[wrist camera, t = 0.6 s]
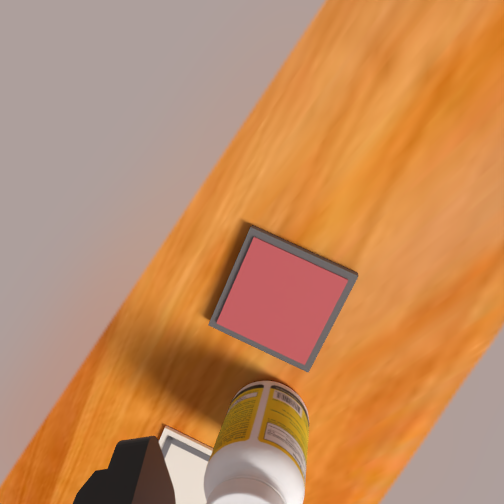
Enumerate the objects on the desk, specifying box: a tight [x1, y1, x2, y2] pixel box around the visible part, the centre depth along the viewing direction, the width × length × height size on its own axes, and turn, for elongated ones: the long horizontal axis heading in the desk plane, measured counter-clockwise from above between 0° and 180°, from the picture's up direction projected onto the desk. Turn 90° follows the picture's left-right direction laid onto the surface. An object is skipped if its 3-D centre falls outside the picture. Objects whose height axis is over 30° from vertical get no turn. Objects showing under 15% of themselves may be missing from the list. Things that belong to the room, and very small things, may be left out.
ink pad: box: [209, 225, 358, 372], centre depth 32 cm, size 8×8×1 cm
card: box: [159, 426, 213, 504], centre depth 37 cm, size 10×10×1 cm
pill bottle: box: [204, 381, 309, 504], centre depth 30 cm, size 6×6×11 cm
